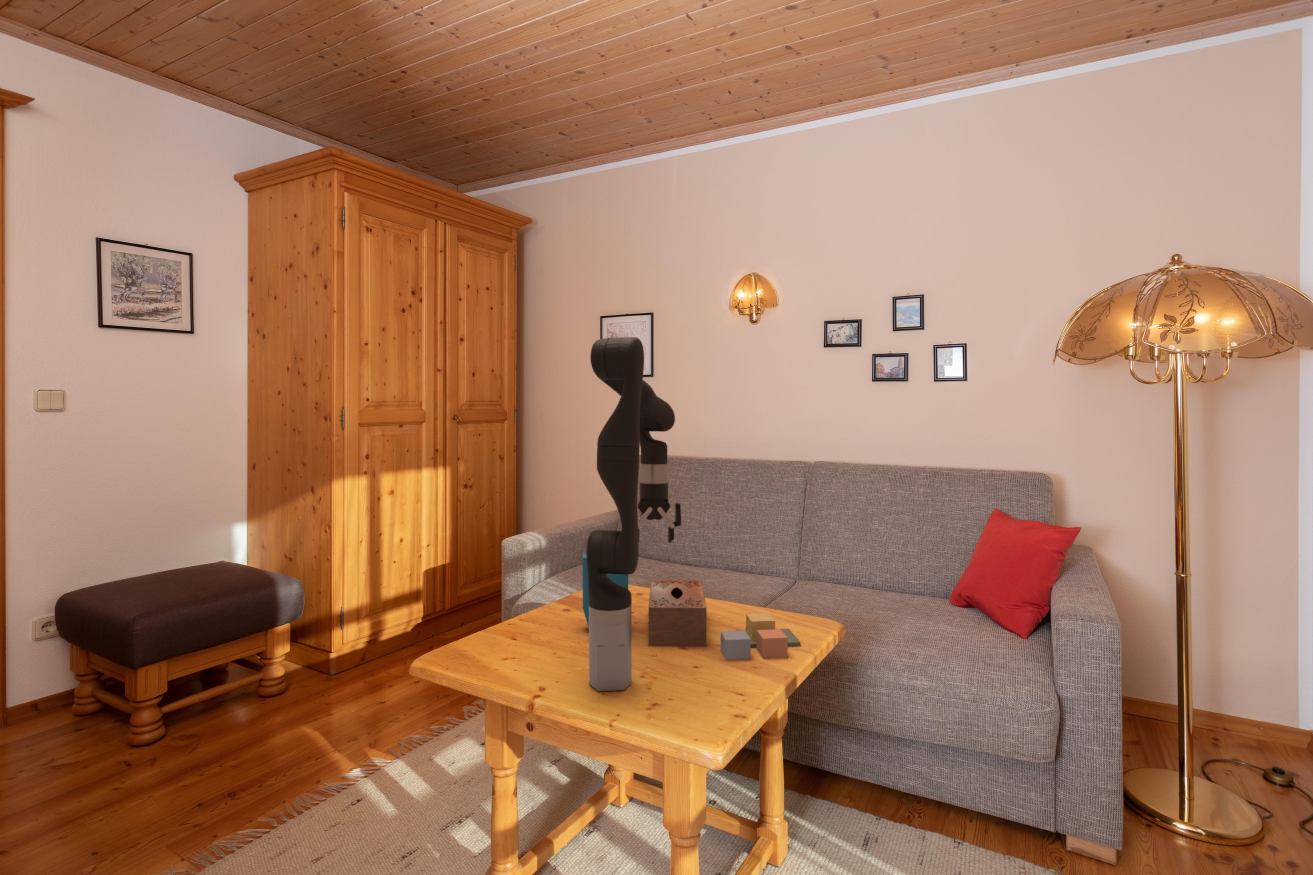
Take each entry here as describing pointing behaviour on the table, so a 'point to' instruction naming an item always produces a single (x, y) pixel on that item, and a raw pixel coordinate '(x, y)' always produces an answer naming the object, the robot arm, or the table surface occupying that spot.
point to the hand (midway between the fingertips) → (653, 542)
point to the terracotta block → (772, 643)
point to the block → (615, 578)
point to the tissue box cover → (677, 613)
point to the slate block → (735, 645)
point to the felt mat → (791, 637)
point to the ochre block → (758, 624)
